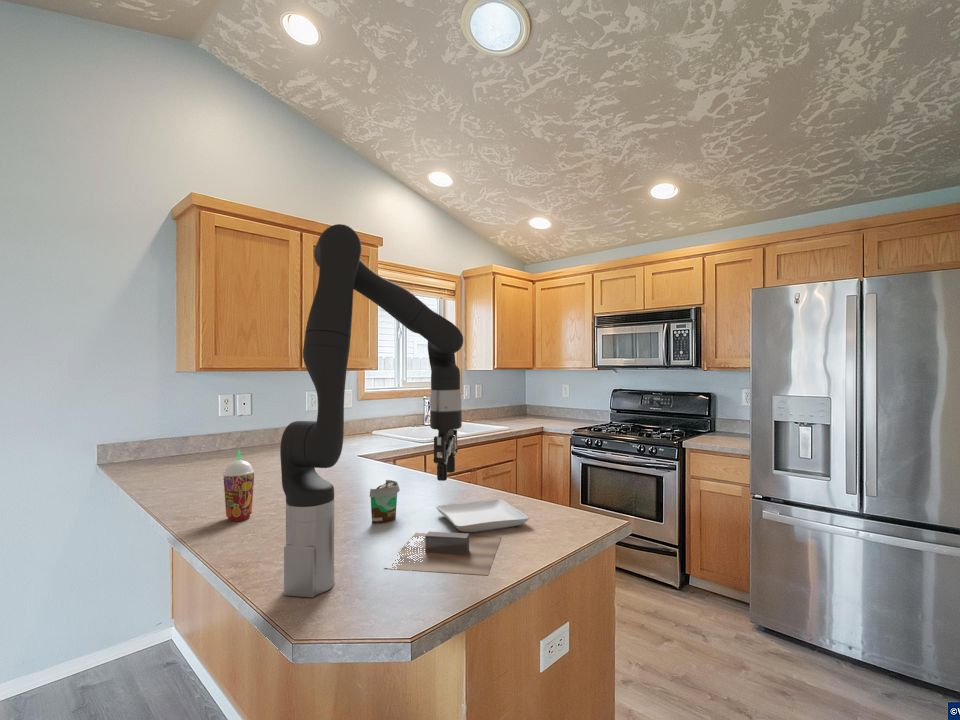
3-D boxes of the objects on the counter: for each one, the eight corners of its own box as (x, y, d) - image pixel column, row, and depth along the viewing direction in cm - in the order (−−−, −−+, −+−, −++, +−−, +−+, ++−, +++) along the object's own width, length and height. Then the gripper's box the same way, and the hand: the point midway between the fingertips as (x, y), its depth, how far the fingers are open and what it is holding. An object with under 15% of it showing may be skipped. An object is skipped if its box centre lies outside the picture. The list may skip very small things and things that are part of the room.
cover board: (487, 578, 101) (487, 556, 101) (384, 572, 105) (383, 550, 105) (501, 540, 124) (501, 521, 124) (415, 535, 128) (415, 517, 128)
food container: (390, 526, 133) (390, 490, 134) (369, 525, 135) (369, 489, 135) (405, 513, 145) (405, 480, 146) (386, 512, 147) (386, 479, 147)
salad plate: (499, 508, 151) (499, 497, 151) (530, 529, 131) (530, 516, 131) (434, 516, 143) (434, 504, 144) (457, 539, 124) (457, 526, 124)
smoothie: (216, 520, 140) (216, 451, 140) (242, 512, 147) (242, 447, 148) (235, 524, 136) (235, 454, 136) (260, 516, 143) (260, 449, 144)
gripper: (454, 411, 108) (455, 484, 107) (466, 406, 122) (467, 470, 121) (422, 411, 109) (423, 483, 109) (437, 405, 123) (438, 469, 123)
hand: (446, 476), depth 115 cm, fingers open, 8 cm apart
